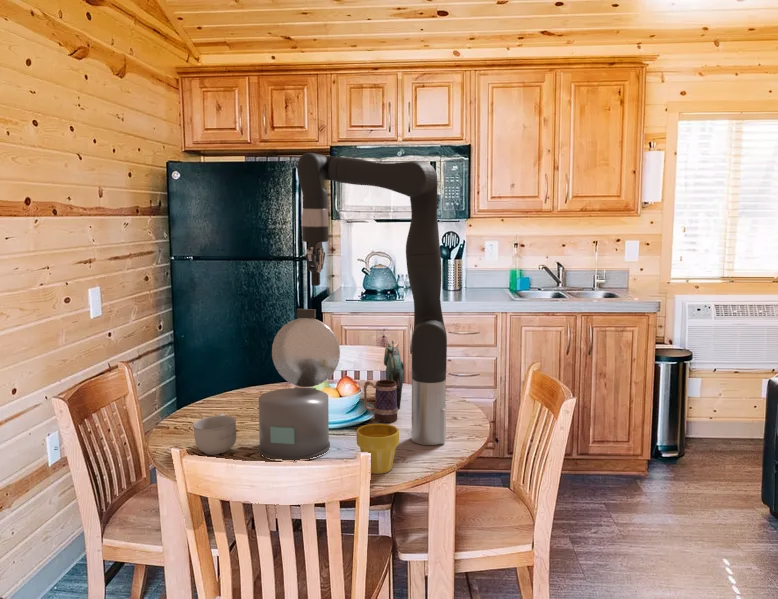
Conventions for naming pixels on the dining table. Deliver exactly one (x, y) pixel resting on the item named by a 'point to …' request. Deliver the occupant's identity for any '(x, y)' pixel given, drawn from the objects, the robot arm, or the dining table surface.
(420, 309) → the robot arm
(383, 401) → the mug
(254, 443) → the dining table surface
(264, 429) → the cooker
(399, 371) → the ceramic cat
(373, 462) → the plant pot
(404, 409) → the dining table surface
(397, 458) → the dining table surface
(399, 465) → the dining table surface
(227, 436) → the teacup
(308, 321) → the cooker lid
